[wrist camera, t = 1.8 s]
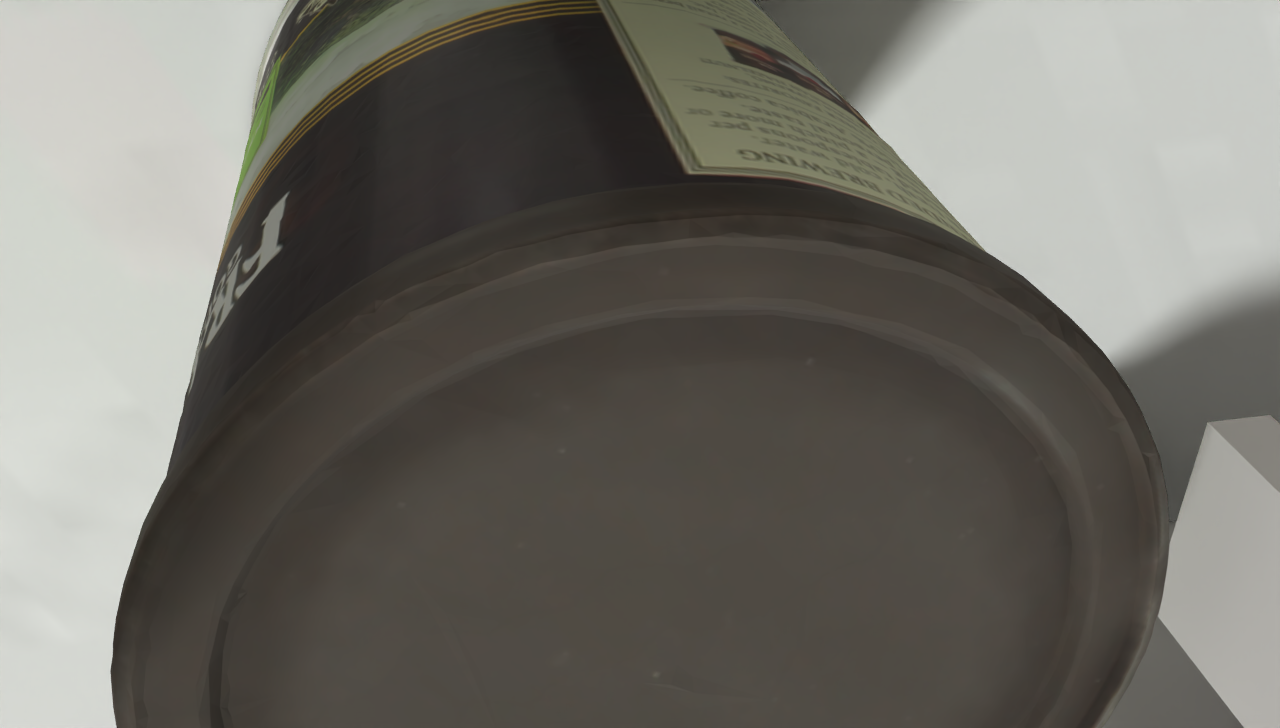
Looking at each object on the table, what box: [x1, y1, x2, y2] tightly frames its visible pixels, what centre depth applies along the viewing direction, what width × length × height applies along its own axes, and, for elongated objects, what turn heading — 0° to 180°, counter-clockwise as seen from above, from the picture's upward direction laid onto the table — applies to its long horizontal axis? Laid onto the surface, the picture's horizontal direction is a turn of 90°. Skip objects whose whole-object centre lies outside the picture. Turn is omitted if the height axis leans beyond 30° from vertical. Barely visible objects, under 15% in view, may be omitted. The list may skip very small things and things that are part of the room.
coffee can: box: [111, 0, 1169, 728], centre depth 18 cm, size 10×10×14 cm
